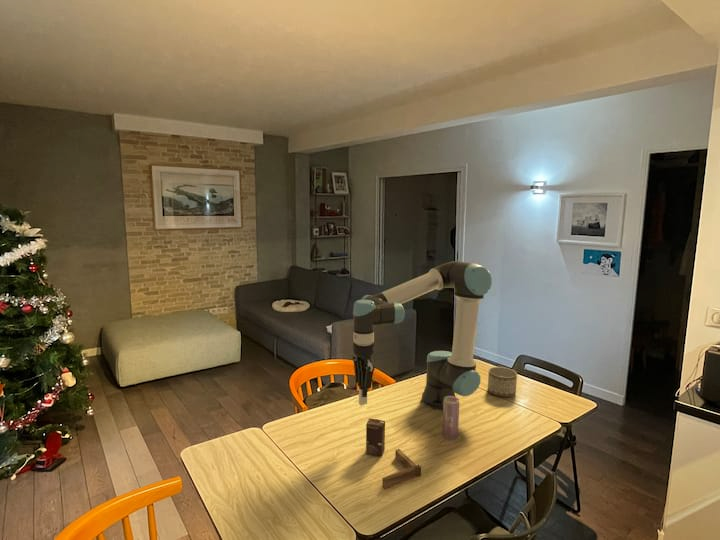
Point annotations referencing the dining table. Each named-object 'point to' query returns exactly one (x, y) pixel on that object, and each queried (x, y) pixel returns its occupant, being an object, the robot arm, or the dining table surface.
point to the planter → (502, 381)
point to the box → (375, 437)
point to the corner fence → (405, 475)
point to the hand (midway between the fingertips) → (362, 403)
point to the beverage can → (450, 417)
